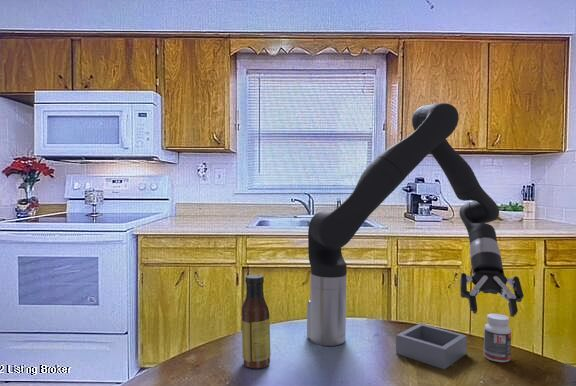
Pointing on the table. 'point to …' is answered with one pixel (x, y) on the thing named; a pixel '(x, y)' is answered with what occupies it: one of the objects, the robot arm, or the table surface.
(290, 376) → the table surface
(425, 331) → the bin
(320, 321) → the robot arm
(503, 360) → the pill bottle
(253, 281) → the sauce bottle
